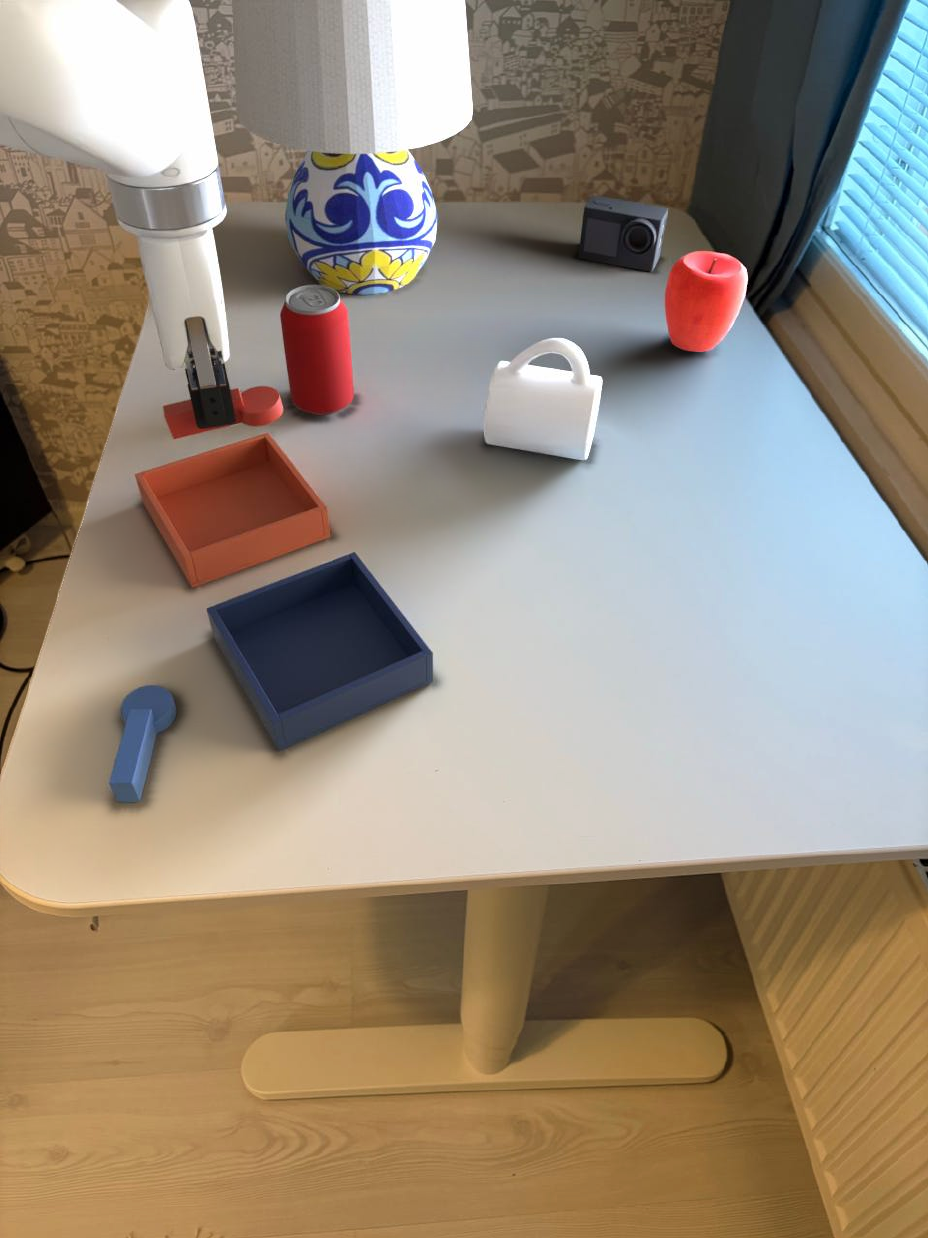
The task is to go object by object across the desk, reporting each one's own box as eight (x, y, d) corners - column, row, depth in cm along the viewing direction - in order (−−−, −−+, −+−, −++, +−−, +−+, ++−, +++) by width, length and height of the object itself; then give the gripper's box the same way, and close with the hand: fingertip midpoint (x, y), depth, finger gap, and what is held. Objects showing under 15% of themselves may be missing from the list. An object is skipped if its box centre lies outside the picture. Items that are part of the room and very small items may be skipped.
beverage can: (337, 378, 102) (328, 275, 93) (365, 408, 98) (358, 304, 89) (281, 394, 99) (266, 290, 90) (307, 426, 95) (294, 321, 87)
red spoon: (174, 447, 76) (165, 424, 74) (171, 421, 78) (161, 398, 76) (286, 420, 77) (280, 396, 75) (279, 395, 79) (273, 371, 77)
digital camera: (574, 261, 123) (580, 209, 117) (585, 245, 126) (591, 193, 121) (650, 276, 120) (660, 223, 115) (659, 259, 124) (668, 206, 119)
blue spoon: (156, 801, 64) (148, 783, 63) (101, 802, 64) (92, 783, 62) (180, 695, 71) (174, 676, 69) (131, 696, 71) (123, 676, 69)
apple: (675, 371, 104) (695, 281, 97) (642, 333, 110) (658, 245, 102) (743, 359, 107) (768, 270, 99) (707, 323, 112) (728, 236, 104)
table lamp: (270, 331, 108) (209, -90, 79) (251, 232, 126) (197, -142, 97) (490, 310, 113) (511, -95, 84) (443, 217, 131) (446, -143, 102)
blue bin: (279, 752, 67) (273, 723, 65) (213, 637, 75) (205, 608, 72) (433, 681, 72) (433, 652, 70) (357, 580, 80) (354, 551, 77)
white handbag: (499, 414, 98) (506, 310, 89) (595, 430, 96) (611, 326, 87) (481, 459, 92) (487, 353, 83) (582, 477, 91) (598, 370, 82)
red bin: (192, 588, 79) (184, 558, 76) (143, 503, 86) (134, 473, 84) (330, 537, 84) (327, 507, 81) (272, 460, 91) (268, 431, 89)
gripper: (108, 155, 68) (163, 373, 81) (116, 250, 57) (177, 480, 71) (210, 146, 69) (247, 361, 83) (236, 237, 59) (274, 465, 73)
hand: (215, 415), depth 77 cm, fingers closed on red spoon, 1 cm apart
